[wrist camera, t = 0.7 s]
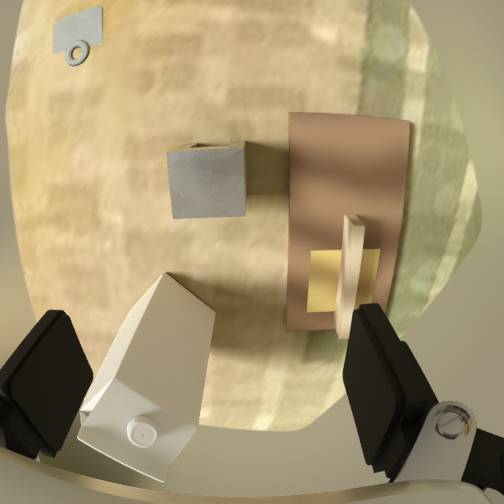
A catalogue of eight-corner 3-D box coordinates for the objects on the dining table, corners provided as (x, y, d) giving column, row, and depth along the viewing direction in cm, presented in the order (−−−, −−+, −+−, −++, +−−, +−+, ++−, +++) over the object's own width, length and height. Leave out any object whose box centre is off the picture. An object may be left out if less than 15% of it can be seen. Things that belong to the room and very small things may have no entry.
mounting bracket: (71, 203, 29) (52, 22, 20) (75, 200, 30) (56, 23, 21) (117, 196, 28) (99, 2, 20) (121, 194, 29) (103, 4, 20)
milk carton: (178, 345, 36) (142, 489, 19) (130, 309, 34) (63, 448, 17) (216, 311, 34) (192, 473, 17) (164, 270, 32) (95, 423, 15)
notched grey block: (184, 144, 27) (166, 152, 21) (245, 140, 27) (243, 147, 21) (188, 197, 29) (173, 218, 23) (247, 195, 29) (245, 216, 23)
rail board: (288, 112, 25) (294, 112, 22) (404, 120, 25) (425, 123, 21) (285, 324, 35) (289, 349, 31) (378, 318, 34) (390, 341, 31)
